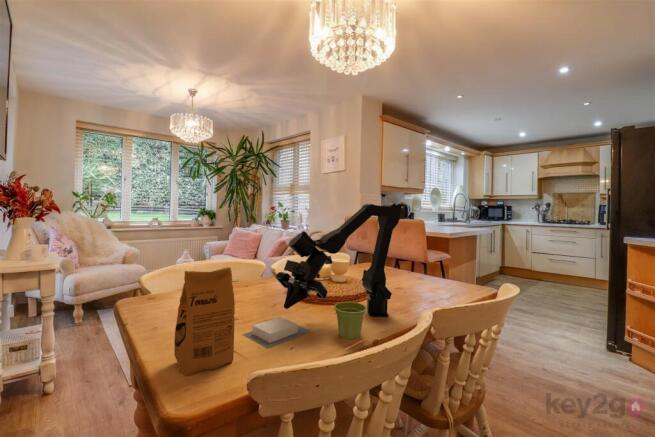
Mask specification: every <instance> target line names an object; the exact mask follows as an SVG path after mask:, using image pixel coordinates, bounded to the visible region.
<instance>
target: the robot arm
mask: <svg viewBox="0 0 655 437" xmlns="http://www.w3.org/2000/svg"><path fill="white" fill-rule="evenodd" d="M373 216H374V217H377V223H378V233H377V235H376V236H377V237H376V241H375V245H374V250H373V255H372V260H371V263H370V267H369V268H368V269H364V270H363V272H362V273H363V274H362V278H361V280H360V281H361V282H362V286H363V288H364V290H365V291H366V292H365V293H366V294H367V295H368V299H366V307H367V309H366V312H367V313H368V315H369V316H370V317H389V316H390V314H389V313H388V301H389V300H391V297H392V292H391V291H390V290H389V289H388V287H387V285H386V284H387V276H386V273H385V268H386V262H387V258H388V254H389V248H390V244H391V241H392V235H393V231H394V229H395V228H396V227H397V225H398V224H399V222H400V220H401V218H402V209H401V208H400V206H399V205H397V204H382V205H378V204H373V203H365V204H363V205H362V207H361V208H359V209H358V210H357V211H356V212H355V213H354V214H353V215H352V216H350V217H349V218H348V219H347V220H346V221H345V222H344V223H342V224H341V225H340V226H339V227H338V228H336V229H334V230H331V231H330V232H327V233H325V235H323V236H321V237H320V239H314V240H313V239H312V238H311V236H310V235H309V234H308V233H307V232H306V231H305V230H302V231H300V233H298V234H296V235H295V236H294V237H293V238H292V239H291V240H290V242H289V244H288V247H289V248H291V250H293V251H294V253H296V254H297V255H298V256H299V257H300V258H304V257H305V258H306V260H305V261H304V260H301V261H299V262H297V261H293V260H290V259H289V260H288V259H286V263H285V264H284V265H285V266H284V267H283V271H279V272H277V274H276V275H275V276H274V278H275V279H276V281H278V283H280V285H282V287H283V288H285V289H287V292H286V296H285V300H284V304H283V308H284V309H286V310H288V309H290V308H291V307H293V306H294V305H296V304H298V303H300V302H301V301H303V300H305V299H307V298H310V297H311V295H310V294H311V293H312V292H315V293H316V294H315V295H316V298H318V299H320V300H325V299H326V298H327V295H328V289H327V288H326V287H325V285H323V283H322V282H321V281H319V280H316V278H317V279H319V278H320V277H321V275H320V272H321V270H322V269H323V267H324V266H325V265H331V264H333V260H332V256H331V255H333V254H334V255H336V254H337V253H339V252H340V251H341V249H342V248H343V247H344V246H345V244H346V242H347V239H348V238H350V237H351V235H352V234H353V233H355V232H356V231H357V230H358V229H359V228H360V227H361V226H362V225H364V224H365V222H367V221H368V220H369V219H370V218H371V217H373ZM319 249H320V250H319ZM326 253H328V254H330V255H327V254H326ZM287 272H288V273H287ZM290 273H291V274H290Z"/></svg>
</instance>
